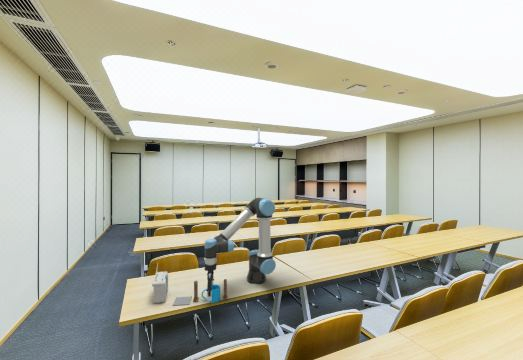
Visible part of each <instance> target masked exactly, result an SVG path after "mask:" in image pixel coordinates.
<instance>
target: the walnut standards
mask: <svg viewBox="0 0 523 360" xmlns="http://www.w3.org/2000/svg"><path fill="white" fill-rule="evenodd" d="M198 283H199V282H198V280H193V300H192V302H193V303H199V299H200V297H199V295H198V294H199V293H198V292H199V289H198V288H199V287H198ZM227 294H228V279H226V278H224V279H223V296H222V300H223V301H228V300H229V299H228V297H229V296H228V295H227Z"/></svg>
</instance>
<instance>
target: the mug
mask: <svg viewBox="0 0 523 360" xmlns="http://www.w3.org/2000/svg"><path fill="white" fill-rule="evenodd" d="M206 290H207V288H204V290H202V292H201V294H200V295H201V297H202V298H203V299H205V300H207V297H205V296H204V293H205V292H207V291H206ZM219 301H221V286H220V285H219V284H213V285H212V301H207V302H209V303H217V302H219Z"/></svg>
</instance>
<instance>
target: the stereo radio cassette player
mask: <svg viewBox="0 0 523 360" xmlns="http://www.w3.org/2000/svg"><path fill="white" fill-rule="evenodd" d="M158 264H159V262H157V266H156V268H158V266H159V265H158ZM151 286H152V287H153V303H154V304H159V303H165V302H166V299H167V293H168V289H169V288H168V287H169V273H168V271H158V269H156V271H155V274H154V277H153V280H152V283H151Z"/></svg>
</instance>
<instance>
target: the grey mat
mask: <svg viewBox="0 0 523 360" xmlns="http://www.w3.org/2000/svg"><path fill="white" fill-rule="evenodd" d="M191 300H192V296H177V297H175V299H174V301H173V304H172V306H173V307H174V306H190V304H191Z"/></svg>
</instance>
